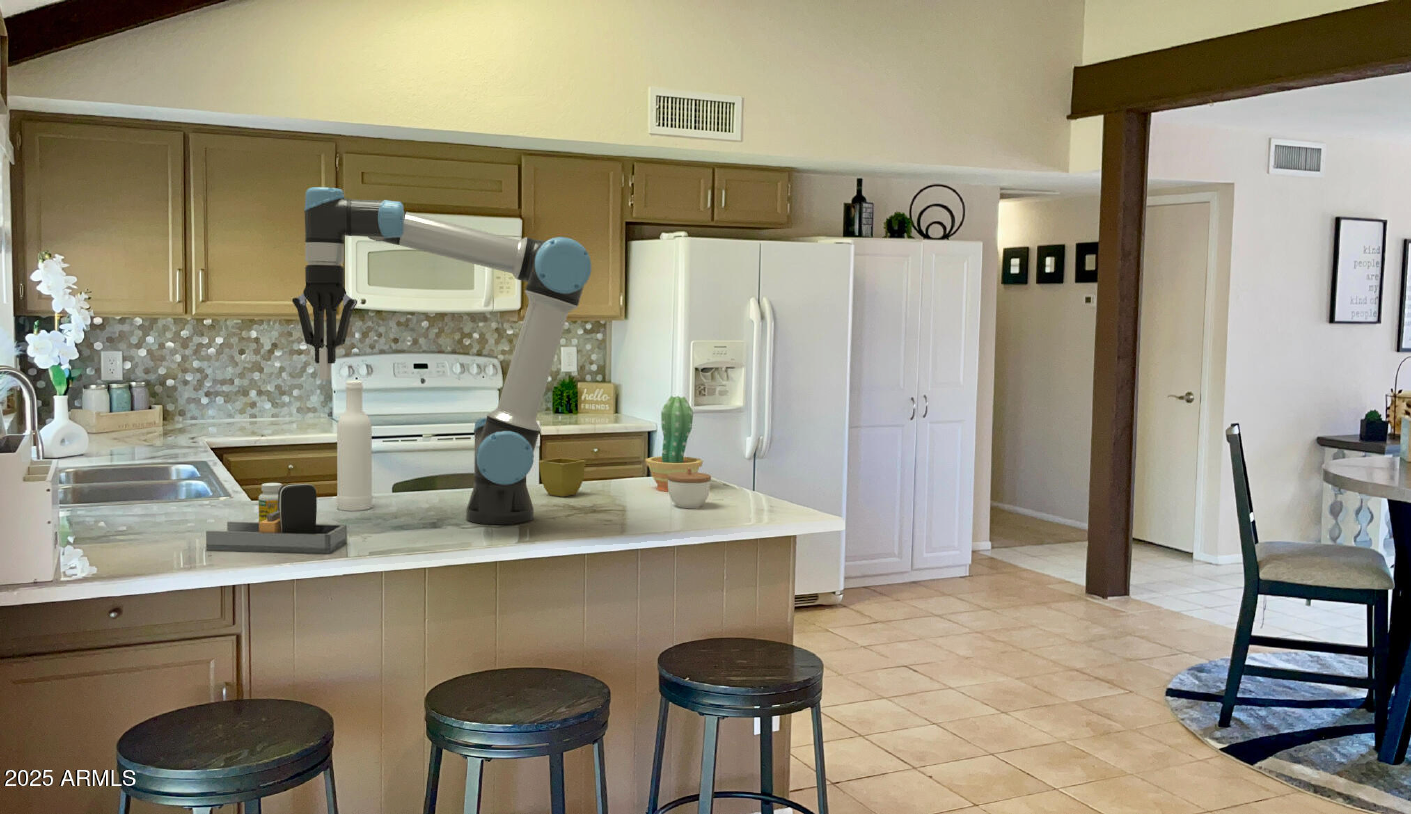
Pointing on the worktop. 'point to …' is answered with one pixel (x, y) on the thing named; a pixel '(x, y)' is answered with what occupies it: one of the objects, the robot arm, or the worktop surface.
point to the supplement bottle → (268, 500)
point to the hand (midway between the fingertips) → (325, 379)
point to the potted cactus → (673, 442)
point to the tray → (276, 539)
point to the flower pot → (562, 475)
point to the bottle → (354, 453)
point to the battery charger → (297, 508)
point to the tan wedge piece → (271, 523)
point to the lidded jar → (688, 488)
